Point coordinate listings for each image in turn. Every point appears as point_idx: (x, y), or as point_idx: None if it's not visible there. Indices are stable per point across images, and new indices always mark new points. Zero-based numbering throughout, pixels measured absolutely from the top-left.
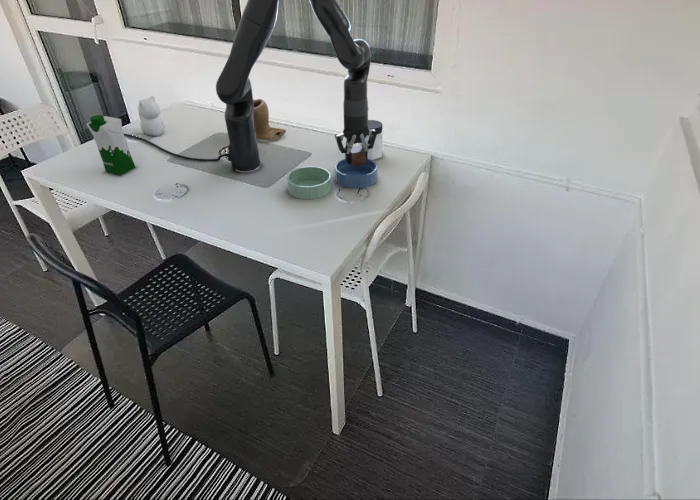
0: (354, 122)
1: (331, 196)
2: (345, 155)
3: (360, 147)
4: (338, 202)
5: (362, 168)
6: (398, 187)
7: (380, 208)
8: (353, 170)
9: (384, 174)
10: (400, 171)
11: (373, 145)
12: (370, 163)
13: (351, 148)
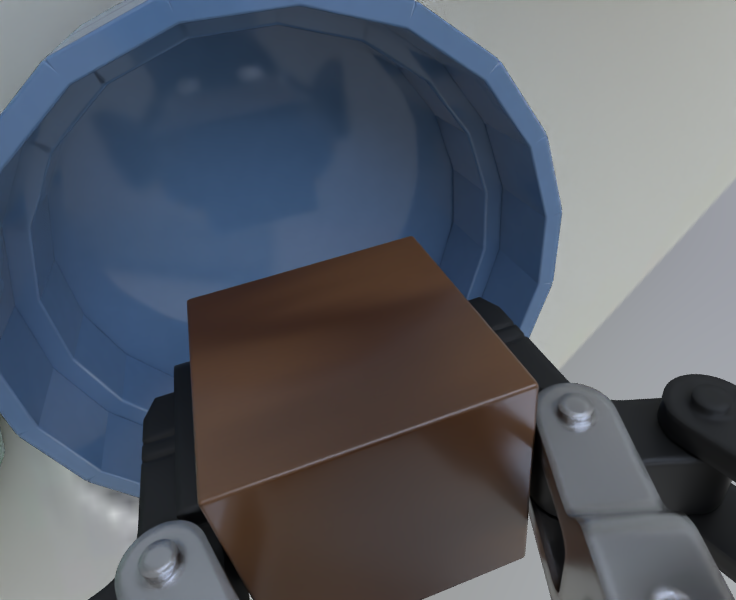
0: None
1: (31, 491)
2: (149, 515)
3: (502, 463)
4: (109, 541)
5: (384, 58)
6: (560, 345)
7: None
8: (258, 30)
9: (560, 140)
10: (706, 97)
11: (730, 505)
12: (507, 143)
13: (301, 526)
